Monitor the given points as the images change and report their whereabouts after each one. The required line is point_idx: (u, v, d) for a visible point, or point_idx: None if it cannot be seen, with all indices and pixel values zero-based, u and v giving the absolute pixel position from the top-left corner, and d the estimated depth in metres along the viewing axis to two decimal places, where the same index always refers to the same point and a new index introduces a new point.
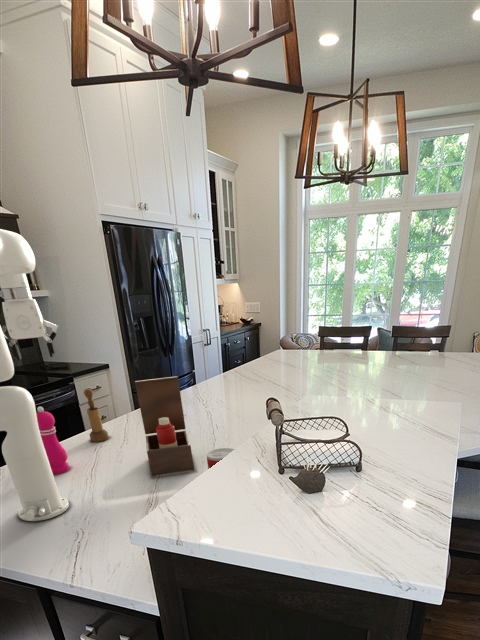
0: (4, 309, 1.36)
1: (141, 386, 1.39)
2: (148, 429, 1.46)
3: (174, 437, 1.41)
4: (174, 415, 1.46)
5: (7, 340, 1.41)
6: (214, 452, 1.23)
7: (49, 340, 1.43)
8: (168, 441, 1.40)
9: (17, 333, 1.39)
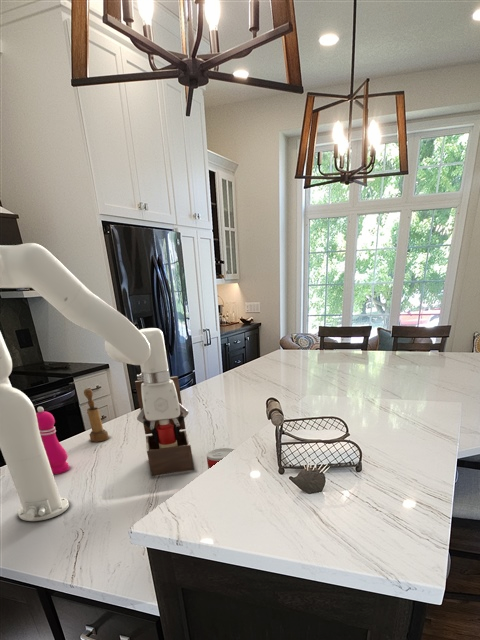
0: (143, 392, 1.32)
1: None
2: (148, 429, 1.46)
3: (174, 437, 1.41)
4: None
5: (148, 424, 1.38)
6: (214, 452, 1.23)
7: (177, 424, 1.39)
8: (168, 441, 1.40)
9: (153, 415, 1.35)
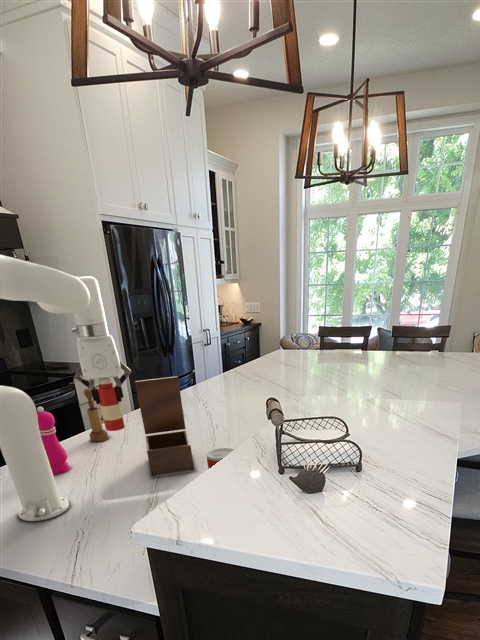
0: (79, 347, 1.23)
1: (141, 386, 1.39)
2: (148, 429, 1.46)
3: (116, 398, 1.32)
4: (174, 415, 1.46)
5: (87, 383, 1.29)
6: (214, 452, 1.23)
7: (119, 384, 1.30)
8: (109, 403, 1.31)
9: (91, 373, 1.26)
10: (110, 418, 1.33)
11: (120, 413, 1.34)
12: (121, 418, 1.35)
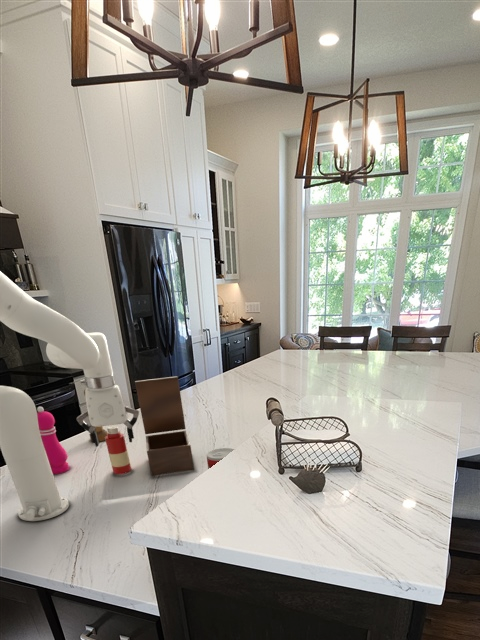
0: (87, 397, 1.29)
1: (141, 386, 1.39)
2: (148, 429, 1.46)
3: (124, 446, 1.39)
4: (174, 415, 1.46)
5: (87, 427, 1.34)
6: (214, 452, 1.23)
7: (130, 426, 1.36)
8: (117, 451, 1.38)
9: (98, 421, 1.32)
10: (118, 465, 1.40)
11: (127, 460, 1.42)
12: (128, 464, 1.42)
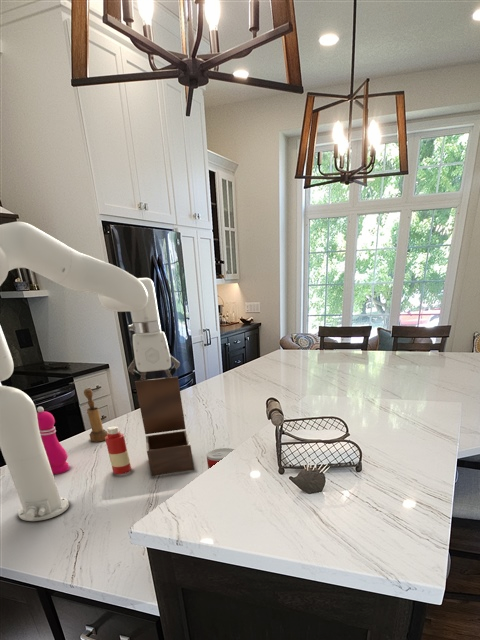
0: (135, 342, 1.35)
1: (141, 386, 1.39)
2: (148, 429, 1.46)
3: (124, 446, 1.39)
4: (174, 415, 1.46)
5: (138, 375, 1.41)
6: (214, 452, 1.23)
7: (169, 376, 1.42)
8: (117, 451, 1.38)
9: (145, 366, 1.38)
10: (118, 465, 1.40)
11: (127, 460, 1.42)
12: (128, 464, 1.42)
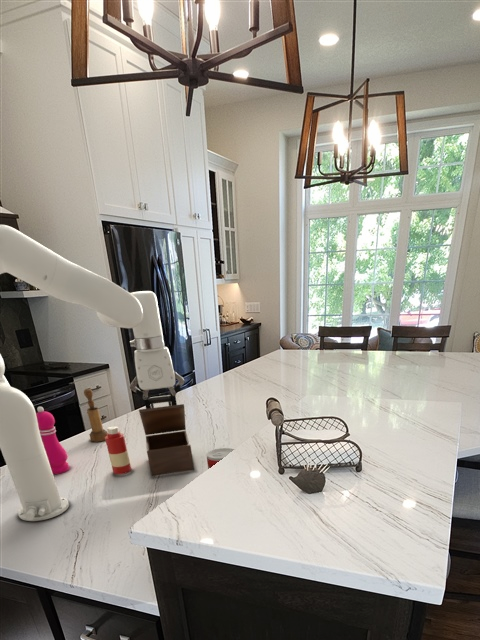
0: (137, 359, 1.27)
1: (145, 413, 1.33)
2: (149, 432, 1.46)
3: (124, 446, 1.39)
4: (176, 424, 1.44)
5: (141, 393, 1.33)
6: (214, 452, 1.23)
7: (173, 393, 1.34)
8: (117, 451, 1.38)
9: (148, 384, 1.30)
10: (118, 465, 1.40)
11: (127, 460, 1.42)
12: (128, 464, 1.42)
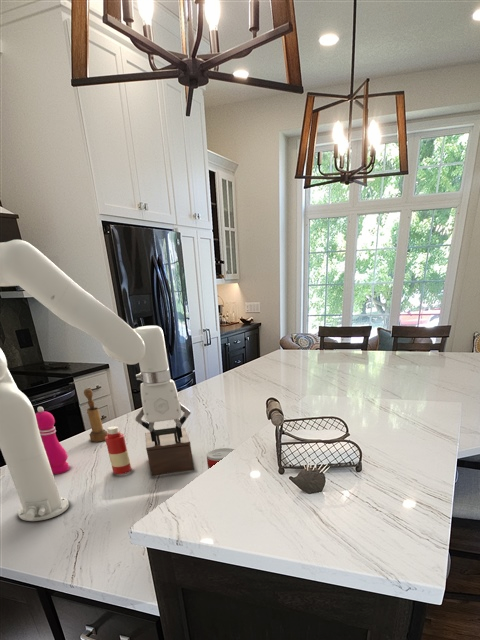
0: (143, 393, 1.26)
1: None
2: None
3: (124, 446, 1.39)
4: None
5: (147, 425, 1.32)
6: (214, 452, 1.23)
7: (179, 425, 1.34)
8: (117, 451, 1.38)
9: (153, 416, 1.30)
10: (118, 465, 1.40)
11: (127, 460, 1.42)
12: (128, 464, 1.42)
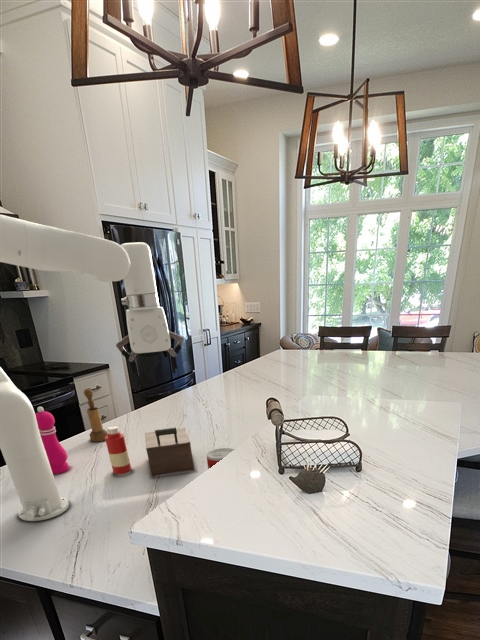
0: (129, 319, 1.17)
1: None
2: None
3: (124, 446, 1.39)
4: None
5: (127, 354, 1.22)
6: (214, 452, 1.23)
7: (173, 354, 1.24)
8: (117, 451, 1.38)
9: (140, 346, 1.20)
10: (118, 465, 1.40)
11: (127, 460, 1.42)
12: (128, 464, 1.42)
